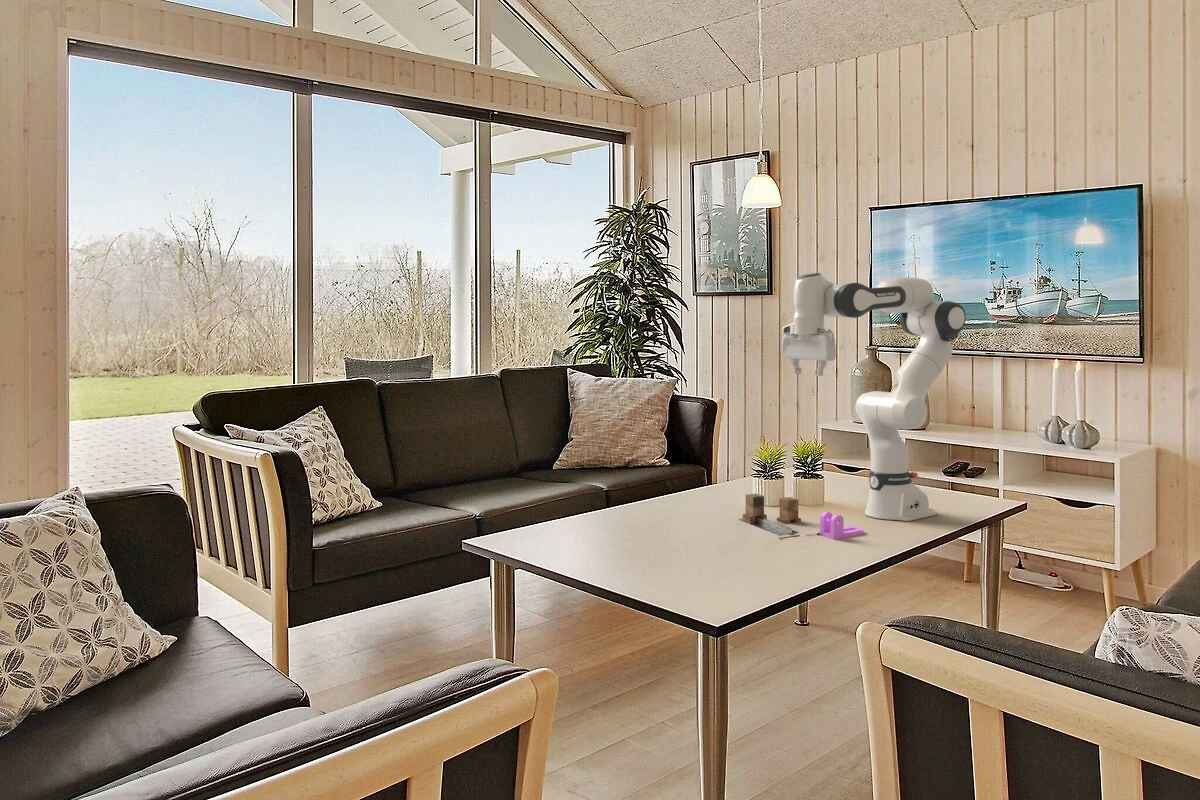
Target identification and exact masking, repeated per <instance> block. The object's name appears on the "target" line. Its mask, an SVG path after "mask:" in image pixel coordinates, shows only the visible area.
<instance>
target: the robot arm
mask: <svg viewBox="0 0 1200 800" xmlns="http://www.w3.org/2000/svg"><path fill="white" fill-rule="evenodd" d="M934 293H935V292H934V287H933V286H932V284H931V283H930V282H929V281H928V280H926V279H924V278H918V277H909V276H908V277H902V276H901V277H893V278H888V279H885V280H882V281H880V282H879V283H878V284H877V286H876V287H869V286H867V285H864V284H862V283H859V282H852V283H851V282H850V283H843V284H842V283H841V284H838V283H837V284H835V283H833V282H830V281H829V280H827V279H826V278H825V277H824V276H823V274H822V273H819V272H814V273H807V274H802V275H800V276H798V277H797V278H796V280H795V283H794V288H793V307H794V315H793V322H790V323H789V324H787V325H786V326H783V327H782V329H781V333H782V335H783V336H782V338H781V356H782V357H783V358H784V359H788V360H789V359H790V365H791V366H792V368H793V374H794V375H802V368H801V367H800V364H799V363H800V360H807V361H817V365H818V366H817V369H814V370H815V371H814V375H815V376H816V377H823V376H824V370H825V367H826V366H827V362H830V361H831V362H832V361H835V360H836V358H837V346H836V340H835V335H834V332H833V331H832V330H831V329H830V328H825V317H829V318H852V319H856V318H860V317H863V316H864V315H865V314H868V312H871V311H873V310H879V311H880V312H882V313H886V314H899V322H900V326H901V329H902V330H903V331H904V332H905V333H907V334H908V335H910V336H911V335H912V336H920V339H919V342H918V344H917V345H916V347H915V348H914V349H913V350H912V351H911V352H910V354H909V355H908V357H907V358H906V359H905V360H904V362H902V365H900V367H899V368H898V369H897V371H896V375H895V378H896V382H897V384H898V385H897V387H896V388H895V390H893V391H891V392H889V391H882V390H881V391H879V390H874V391H868V392H863V393H862V394H860V395H859V396H858V398H857V399H856V401H855V408H854V409H855V414H856V416H857V417H858V419H859V420H860V422H862V424H863V425H864V428H865V431H866V434H867V437H868V440H869V446H870V470H869V475H868V479H869V480H868V481H869V491H868V499H867V503H866V507H865V511H864V515H866V516H868V517H870V518H875V519H880V520H893V521H894V520H896V521H904V522H906V521H907V522H911V521H913V520H914V521H915V520H919V519H924V518H927V517H931V516H932V517H933V516H936V515H937V514H938V513H937V511H936V510H935V509H933V508H930V506H929V505H930V503H929V498H928V496H927V495H928V494H926V493H925V492H924V491H923V490H922V489H920V488H919V487H918V486H917V485H915V484H914V483H913V481H912V480H913V479H915V480H917V479H918V478H919V473H918V472H914V471H911V472H910V471H908V469H909V468H908V466H909V465H908V463H909V462H908V461H909V460H908V459H909V458H908V457H909V449H908V446H907V444H906V443H905V442H904V441H903V439H902V438H901V436H900V433H899V431H898V430H904V431H905V430H913V429H919V428H920V427H922V426H923V425H924V424H925V423H926V420H927V418H928V407H927V404H926V402H925V401H926V396H927V394H928V392H929V390H930V389H931V387H932V386H933V384H934V383H935V381H937V379H938V378H939V376H940V375H941V374H942V372H943V370H944V369H945V367H946V366H947V364H948V362H949V361H950V359H951V357H952V354H953V345H952V341H954V340H957V338H958V337H959V334H960V333H961V331H962V330H963V328H964V326H965V323H966V320H967V318H966V317H967V315H966V312H965V311H966V310H965V308H964V307H963V306H962V305H961V304H960V303H958V302H955V301H949V300H948V301H947V300H946V301H942V300H934Z"/></svg>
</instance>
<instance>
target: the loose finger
mask: <svg viewBox="0 0 1200 800" xmlns="http://www.w3.org/2000/svg"><path fill="white" fill-rule="evenodd" d="M776 521H777V522H778V523H781V524H785V525H786V524H787V525H788V524H790V522H795V523H801V522H802V518H800V517H799V499H798V498H795V497H793V496H788V497H780V498H779V517H776Z"/></svg>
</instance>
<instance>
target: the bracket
mask: <svg viewBox="0 0 1200 800" xmlns="http://www.w3.org/2000/svg"><path fill="white" fill-rule="evenodd" d="M863 534H864V528H863V527H860V526H854V525H853V526H850V525H848V526H844V517H843V516H842V515H841V514H837V513H836V514H832V513H831V512H828V511H823V512H822V513H821V515H820V516H819V536H821V537H824V538H827V539H831V540H838V539H844V538H850V537H856V536H861V535H863Z"/></svg>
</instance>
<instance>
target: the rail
mask: <svg viewBox="0 0 1200 800" xmlns="http://www.w3.org/2000/svg"><path fill="white" fill-rule="evenodd" d="M738 521H740V522H743V523H746V524H749V525H751V526H754V527H756V528H759V529H761V530H764V531H767V532H770V533H772V534H775V535H777V536H779V537H778V539H779V540H780V539H781V540H782V539H788V538H795V537H800V536H801V534H800V532H798V531H796V530H793V529H792V528H791V527H788V526H785V525H783V524H779V522H778V523H777V522H775V521H772V520H769V519H764V518H761V517H758V516H755V523H748V522H745V521H743V518H739V519H738ZM795 534H798V535H795ZM787 535H789V536H787ZM790 535H791V536H790ZM780 536H781V537H780Z"/></svg>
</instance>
